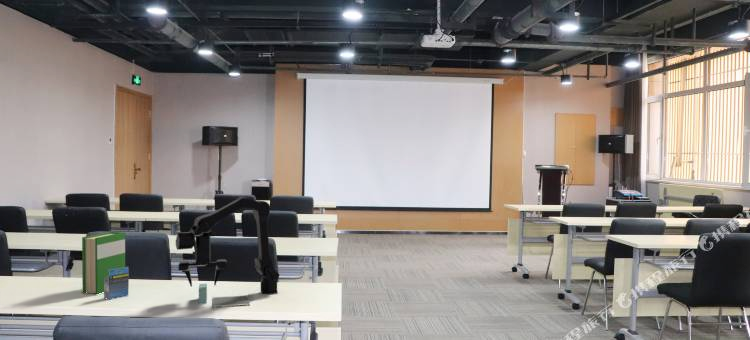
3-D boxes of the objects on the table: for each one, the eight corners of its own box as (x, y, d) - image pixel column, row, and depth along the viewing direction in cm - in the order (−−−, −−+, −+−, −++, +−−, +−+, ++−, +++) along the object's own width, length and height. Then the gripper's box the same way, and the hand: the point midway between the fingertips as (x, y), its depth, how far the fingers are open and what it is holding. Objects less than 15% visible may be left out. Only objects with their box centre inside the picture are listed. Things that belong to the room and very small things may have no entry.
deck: (206, 297, 245) (206, 283, 245) (206, 303, 237) (206, 288, 236) (199, 298, 244) (199, 283, 244) (198, 303, 236) (198, 288, 236)
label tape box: (123, 294, 250) (123, 265, 249) (129, 295, 247) (129, 266, 247) (103, 298, 242) (103, 268, 242) (109, 300, 240) (109, 269, 240)
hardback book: (97, 295, 248) (97, 238, 247) (82, 293, 250) (82, 237, 249) (125, 285, 265) (125, 232, 264) (111, 284, 267) (110, 231, 266)
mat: (247, 296, 248) (247, 295, 248) (249, 305, 234) (249, 304, 234) (213, 298, 244) (213, 297, 244) (213, 307, 230) (213, 306, 230)
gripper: (226, 243, 250) (226, 280, 251) (179, 245, 245) (180, 282, 246) (226, 248, 239) (227, 286, 240) (178, 249, 234) (178, 288, 235)
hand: (203, 285), depth 240 cm, fingers open, 9 cm apart
